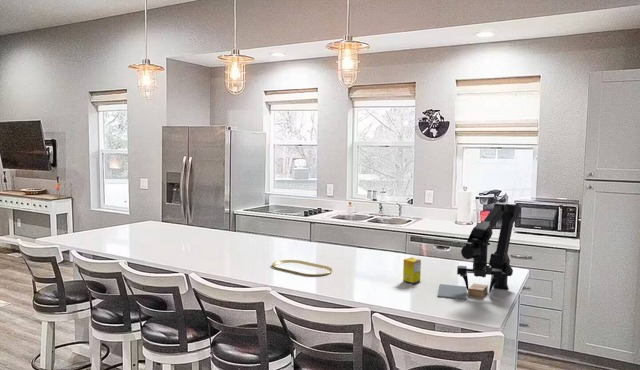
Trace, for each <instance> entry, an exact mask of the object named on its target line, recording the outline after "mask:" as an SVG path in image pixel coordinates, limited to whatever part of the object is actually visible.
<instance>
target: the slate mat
mask: <svg viewBox="0 0 640 370" xmlns="http://www.w3.org/2000/svg"><path fill="white" fill-rule="evenodd" d="M437 298H445V299H453V300H454V299H455V300H463V301H464V300H466V301H467V299H468V290H467V287H466V285H464V286H463V285H455V284H444V283H439V285H438V292H437Z"/></svg>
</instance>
